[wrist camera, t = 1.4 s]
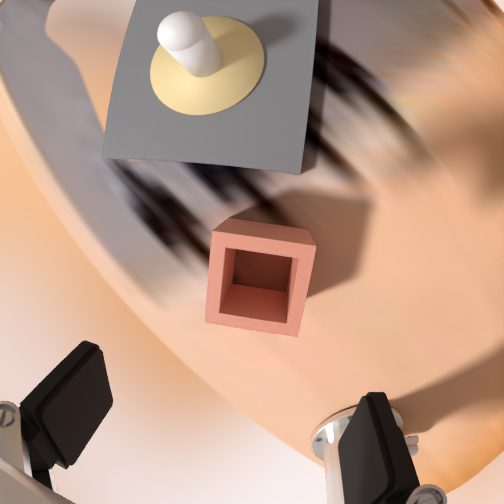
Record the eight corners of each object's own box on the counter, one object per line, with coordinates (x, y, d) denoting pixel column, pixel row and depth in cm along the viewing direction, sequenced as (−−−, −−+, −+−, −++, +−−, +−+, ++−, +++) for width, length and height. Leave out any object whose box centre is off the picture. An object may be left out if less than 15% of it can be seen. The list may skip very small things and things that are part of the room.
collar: (308, 229, 25) (316, 246, 19) (294, 303, 26) (297, 336, 21) (228, 217, 25) (212, 230, 19) (220, 291, 27) (205, 321, 21)
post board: (317, 2, 19) (328, -57, 10) (299, 174, 23) (309, 174, 14) (142, 4, 20) (100, -37, 11) (110, 158, 25) (44, 158, 16)
